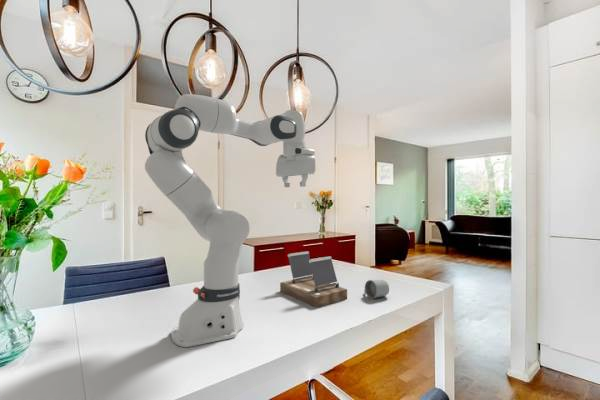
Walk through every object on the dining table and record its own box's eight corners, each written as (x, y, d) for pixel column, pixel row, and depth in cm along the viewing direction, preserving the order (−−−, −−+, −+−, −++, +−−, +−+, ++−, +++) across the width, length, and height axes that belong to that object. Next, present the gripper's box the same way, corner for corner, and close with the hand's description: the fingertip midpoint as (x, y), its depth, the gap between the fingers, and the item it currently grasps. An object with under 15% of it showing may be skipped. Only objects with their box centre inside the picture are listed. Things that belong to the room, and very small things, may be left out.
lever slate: (318, 285, 124) (311, 259, 127) (315, 286, 126) (308, 260, 129) (337, 281, 131) (330, 256, 134) (334, 282, 132) (327, 257, 136)
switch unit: (316, 307, 118) (316, 292, 118) (280, 291, 139) (280, 278, 139) (347, 298, 128) (347, 284, 128) (309, 284, 149) (309, 272, 149)
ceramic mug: (390, 297, 129) (390, 279, 129) (376, 300, 125) (376, 282, 125) (373, 291, 138) (372, 274, 139) (359, 294, 134) (359, 277, 134)
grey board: (295, 277, 137) (290, 253, 140) (292, 278, 138) (287, 254, 142) (314, 274, 143) (308, 251, 147) (311, 274, 145) (305, 252, 148)
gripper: (272, 154, 126) (272, 187, 126) (306, 148, 111) (306, 185, 111) (283, 155, 130) (284, 187, 130) (317, 150, 115) (318, 186, 115)
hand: (294, 186), depth 121 cm, fingers open, 8 cm apart
